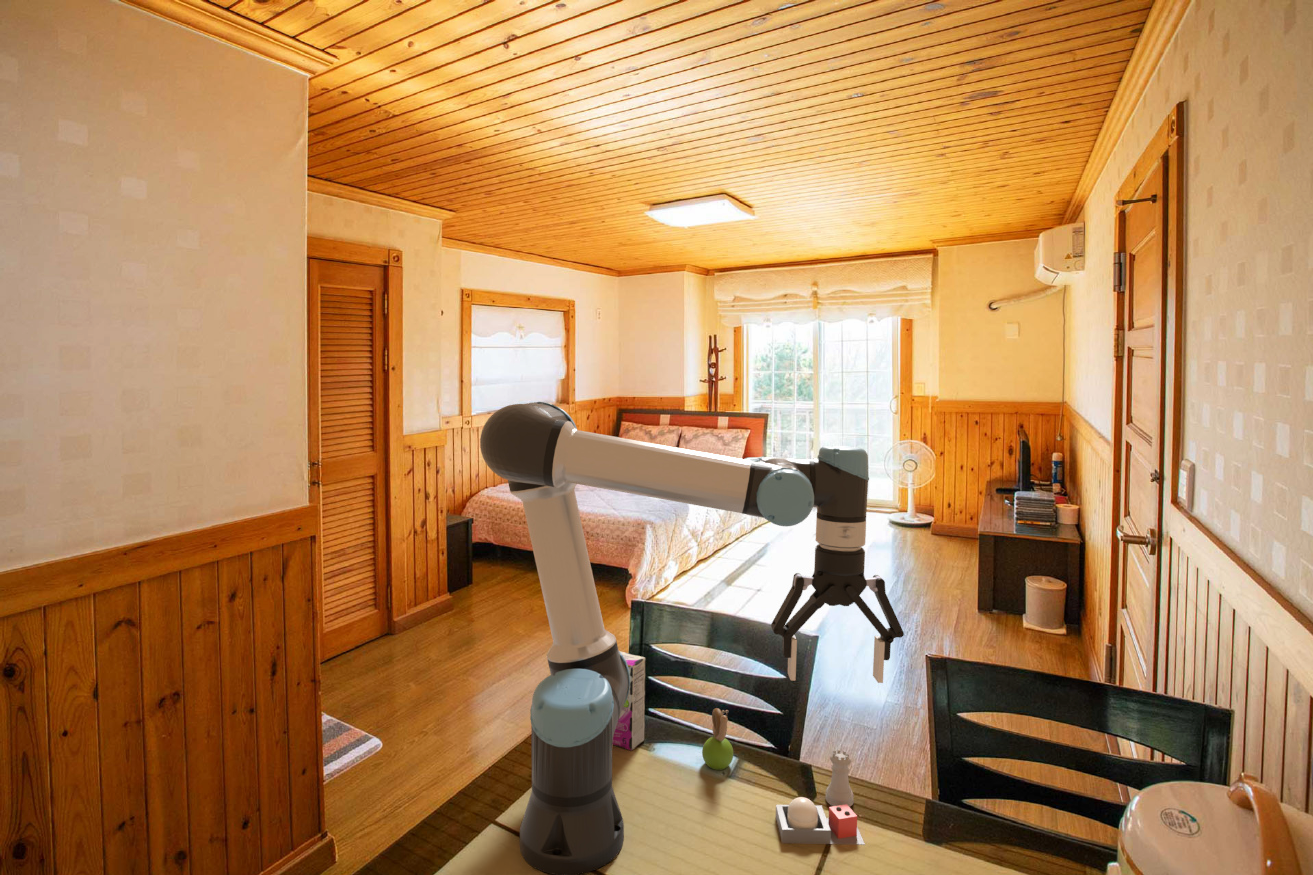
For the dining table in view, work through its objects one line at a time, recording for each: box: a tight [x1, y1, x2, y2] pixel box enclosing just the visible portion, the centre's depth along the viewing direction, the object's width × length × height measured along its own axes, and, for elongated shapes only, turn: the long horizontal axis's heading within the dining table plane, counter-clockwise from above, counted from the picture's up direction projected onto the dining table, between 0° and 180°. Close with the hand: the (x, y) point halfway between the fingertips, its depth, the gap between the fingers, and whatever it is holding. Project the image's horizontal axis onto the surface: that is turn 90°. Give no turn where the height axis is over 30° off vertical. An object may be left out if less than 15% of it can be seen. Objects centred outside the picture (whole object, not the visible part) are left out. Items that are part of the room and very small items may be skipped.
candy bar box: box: [612, 650, 646, 752], centre depth 130 cm, size 11×5×16 cm, turn 60°
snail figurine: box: [701, 707, 734, 771], centre depth 120 cm, size 5×6×12 cm
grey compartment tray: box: [775, 804, 866, 846], centre depth 103 cm, size 12×6×4 cm, turn 89°
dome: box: [787, 796, 818, 829], centre depth 103 cm, size 4×4×4 cm
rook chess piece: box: [824, 749, 855, 808], centre depth 110 cm, size 4×4×8 cm
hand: (834, 678), depth 108 cm, fingers open, 13 cm apart
